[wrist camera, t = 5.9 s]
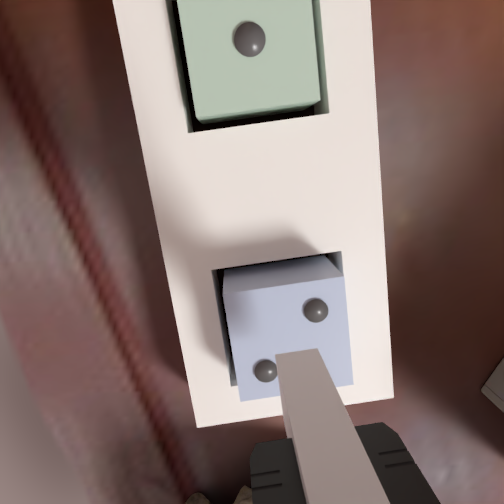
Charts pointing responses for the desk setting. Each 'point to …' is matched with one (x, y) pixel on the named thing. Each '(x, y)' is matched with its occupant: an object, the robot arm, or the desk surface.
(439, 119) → the desk surface
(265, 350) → the tile two
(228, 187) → the tile panel
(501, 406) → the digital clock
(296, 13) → the tile one
